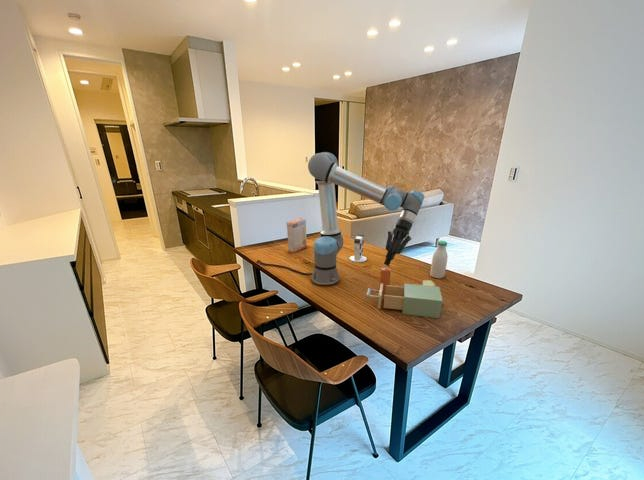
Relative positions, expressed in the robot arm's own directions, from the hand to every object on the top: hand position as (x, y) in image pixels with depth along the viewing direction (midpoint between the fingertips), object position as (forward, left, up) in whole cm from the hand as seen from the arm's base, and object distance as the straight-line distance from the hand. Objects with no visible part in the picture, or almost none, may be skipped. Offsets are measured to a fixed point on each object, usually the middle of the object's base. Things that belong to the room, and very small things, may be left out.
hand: (386, 264), depth 147 cm
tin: (0, -1, -14) cm, 14 cm away
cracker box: (-63, +49, -14) cm, 81 cm away
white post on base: (-19, +40, -14) cm, 46 cm away
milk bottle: (+28, +24, -14) cm, 39 cm away
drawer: (+3, -15, -13) cm, 20 cm away
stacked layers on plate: (+21, +1, -14) cm, 25 cm away
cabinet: (+17, -15, -14) cm, 27 cm away
